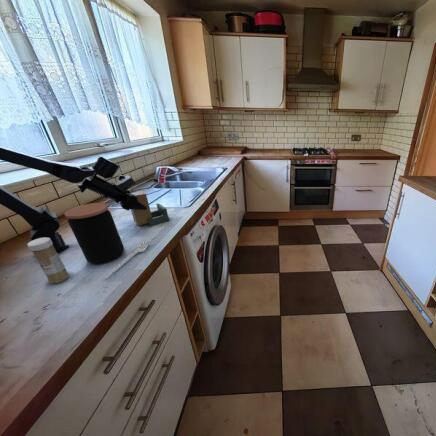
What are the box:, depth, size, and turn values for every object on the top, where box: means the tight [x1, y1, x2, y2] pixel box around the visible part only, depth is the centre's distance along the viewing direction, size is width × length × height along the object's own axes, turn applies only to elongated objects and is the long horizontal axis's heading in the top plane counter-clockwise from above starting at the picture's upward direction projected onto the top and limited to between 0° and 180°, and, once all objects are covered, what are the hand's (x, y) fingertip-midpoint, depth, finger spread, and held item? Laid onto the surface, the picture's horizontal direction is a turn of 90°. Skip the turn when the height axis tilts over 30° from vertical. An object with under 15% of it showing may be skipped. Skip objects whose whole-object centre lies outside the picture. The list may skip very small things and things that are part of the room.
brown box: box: [130, 190, 152, 226], centre depth 99 cm, size 6×6×13 cm
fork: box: [104, 239, 150, 279], centre depth 77 cm, size 3×20×2 cm, turn 177°
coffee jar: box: [63, 202, 125, 265], centre depth 75 cm, size 11×11×18 cm
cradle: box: [147, 202, 170, 227], centre depth 103 cm, size 8×9×6 cm
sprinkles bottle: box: [26, 237, 70, 284], centre depth 66 cm, size 5×5×14 cm
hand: (143, 206), depth 99 cm, fingers closed on brown box, 7 cm apart
